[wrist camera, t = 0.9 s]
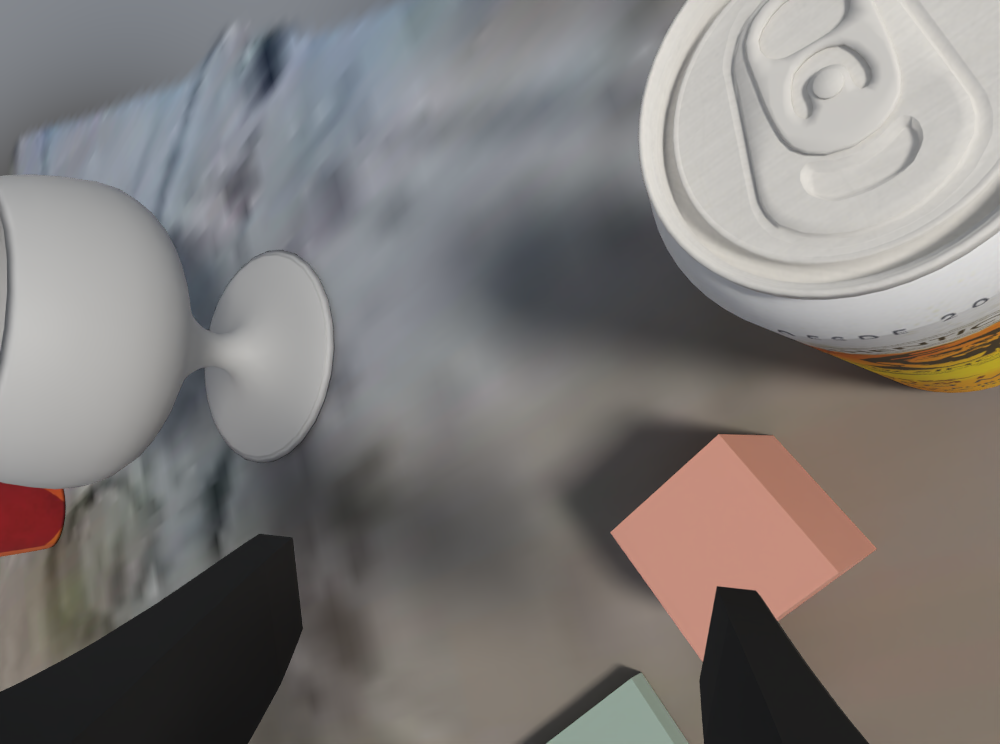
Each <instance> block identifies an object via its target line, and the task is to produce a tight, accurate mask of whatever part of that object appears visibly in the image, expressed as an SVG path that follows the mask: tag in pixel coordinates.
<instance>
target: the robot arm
mask: <svg viewBox="0 0 1000 744" xmlns="http://www.w3.org/2000/svg"><path fill="white" fill-rule="evenodd" d="M302 630H303V626H302V617H301V609H300V600H299V591H298V582H297V573H296V564H295V555H294V546H293V538H291V537H282V536H273V535H264V534H259V535H257V536H256V537H254V538H252V539H251V540H249V541H248V542H246V543H245V544H243V545H242V546H240V547H239V548H237V549H236V550H234V551H233V552H231V553H230V554H229V555H227V556H226V557H224V558H223V559H221V560H220V561H218V562H217V563H216V564H214V565H213V566H211V567H210V568H208V569H207V570H205V571H204V572H203V573H201V574H200V575H198V576H197V577H195V578H194V579H192V580H191V581H189V582H188V583H186V584H185V585H183V586H182V587H180V588H179V589H178V590H176V591H175V592H173V593H172V594H170V595H169V596H167V597H166V598H164V599H163V600H161V601H160V602H158V603H157V604H155V605H154V606H152V607H151V608H149V609H147V610H146V611H144V612H142V613H141V614H139V615H138V616H136V617H134V618H133V619H131V620H130V621H128V622H126V623H125V624H123V625H122V626H120V627H118V628H117V629H115V630H114V631H112V632H110V633H109V634H107V635H106V636H104V637H102V638H101V639H99V640H98V641H96V642H94V643H92V644H91V645H89V646H87V647H85V648H84V649H82V650H80V651H78V652H77V653H75V654H73V655H71V656H69V657H68V658H66V659H64V660H62V661H60V662H58V663H57V664H55V665H53V666H51V667H49V668H47V669H45V670H43V671H41V672H39V673H38V674H36V675H34V676H32V677H30V678H28V679H26V680H24V681H22V682H20V683H18V684H16V685H14V686H12V687H10V688H8V689H5V690H3V691H1V692H0V744H248V743H249V741H250V739H251V737H252V735H253V734H254V732H255V730H256V728H257V726H258V725H259V723H260V721H261V719H262V717H263V716H264V714H265V712H266V710H267V708H268V706H269V705H270V703H271V701H272V699H273V697H274V695H275V694H276V692H277V690H278V688H279V686H280V684H281V682H282V680H283V677H284V675H285V672H286V670H287V668H288V665H289V663H290V660H291V658H292V655H293V653H294V650H295V648H296V645H297V643H298V640H299V637H300V635H301V632H302ZM700 694H701V709H702V723H703V735H704V744H869V743H868V742H867V741H866V739H865V738H864V737H863V736H862V735H861V733H860V732H859V731H858V730H857V729H856V727H855V726H854V725H853V724H852V722H851V721H850V720H849V719H848V717H847V716H846V715H845V714H844V712H843V711H842V710H841V709H840V707H839V706H838V705H837V703H836V702H835V701H834V699H833V698H832V697H831V695H830V694H829V693H828V691H827V690H826V689H825V687H824V686H823V685H822V683H821V682H820V681H819V679H818V678H817V677H816V676H815V674H814V673H813V671H812V670H811V669H810V667H809V666H808V665H807V663H806V662H805V660H804V659H803V658H802V656H801V655H800V653H799V652H798V650H797V649H796V648H795V646H794V645H793V643H792V642H791V640H790V639H789V638H788V636H787V635H786V633H785V632H784V630H783V629H782V627H781V626H780V624H779V623H778V621H777V620H776V618H775V617H774V615H773V614H772V612H771V611H770V609H769V608H768V606H767V605H766V603H765V602H764V600H763V599H762V597H761V596H760V595H759V594H758V592H757V591H756V590H747V589H738V588H730V587H721V586H717V588H716V594H715V599H714V605H713V610H712V615H711V621H710V626H709V632H708V637H707V643H706V648H705V654H704V659H703V665H702V670H701V676H700Z"/></svg>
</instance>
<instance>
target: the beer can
mask: <svg viewBox="0 0 1000 744" xmlns="http://www.w3.org/2000/svg"><path fill="white" fill-rule="evenodd" d="M638 148H639V161H640V166H641V171H642V177H643V181H644V184H645V187H646V190H647V193H648V196H649V199H650V203H651V208H652V213H653V216H654V219H655V222H656V225H657V228H658V231H659V233H660V235H661V237H662V239H663V242H664V244H665V246H666V248H667V250H668V251H669V253H670V255H671V256H672V258H673V259H674V261H675V262H676V264H677V266H678V267H679V268H680V269H681V270H682V272H683V273H684V274H685V275H686V276H687V278H688V279H689V280H690V281H691V282H692V283H693V284H694V285H695V286H696V287H697V288H698V289H699V290H700V291H701V292H702V293H704V294H705V295H706V296H707V297H708V298H710V299H711V300H712V301H714V302H715V303H717V304H718V305H719V306H721V307H722V308H724V309H725V310H727V311H729V312H731V313H733V314H735V315H736V316H738V317H740V318H742V319H744V320H746V321H749V322H751V323H754V324H756V325H758V326H761V327H763V328H766V329H768V330H771V331H773V332H776V333H778V334H781V335H783V336H786V337H788V338H791V339H793V340H796V341H798V342H800V343H803V344H805V345H808V346H810V347H813V348H815V349H818V350H820V351H823V352H825V353H828V354H830V355H833V356H835V357H837V358H840V359H842V360H845V361H847V362H850V363H852V364H855V365H857V366H860V367H862V368H865V369H867V370H870V371H872V372H875V373H877V374H879V375H882V376H884V377H887V378H889V379H892V380H894V381H897V382H899V383H902V384H904V385H907V386H910V387H914V388H918V389H922V390H928V391H934V392H947V393H956V392H970V391H978V390H983V389H987V388H992V387H996V386H999V385H1000V0H686V2H685V3H684V5H683V6H682V8H681V9H680V11H679V12H678V14H677V15H676V17H675V18H674V20H673V22H672V24H671V25H670V27H669V29H668V31H667V32H666V34H665V36H664V38H663V40H662V42H661V44H660V47H659V49H658V51H657V53H656V55H655V58H654V60H653V63H652V66H651V69H650V72H649V75H648V77H647V81H646V85H645V89H644V93H643V97H642V102H641V109H640V116H639V128H638Z"/></svg>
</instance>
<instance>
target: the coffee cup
mask: <svg viewBox="0 0 1000 744" xmlns="http://www.w3.org/2000/svg"><path fill="white" fill-rule="evenodd" d="M64 519H65V496H64V491H63V489H47V488H34V487H26V486H20V485H13V484H7V483H2V482H0V557H1V556H7V555H13V554H20V553H25V552H31V551H37V550H42V549H47V548H50V547H53V546H54V545H55V544H56V543H57V541H58V539H59V538H60V535H61V532H62V529H63V525H64Z"/></svg>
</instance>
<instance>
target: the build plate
mask: <svg viewBox="0 0 1000 744" xmlns="http://www.w3.org/2000/svg"><path fill="white" fill-rule="evenodd" d="M546 744H689V743H688V742H687V740H686V739H685V737H684V736H683V734H682V733H681V731H680V730H679V728H678V727H677V725H676V724H675V722H674V721H673V719H672V718H671V716H670V715H669V713H668V712H667V710H666V709H665V707H664V706H663V704H662V703H661V701H660V700H659V698H658V697H657V695H656V694H655V692H654V691H653V689H652V688H651V686H650V685H649V683H648V682H647V680H646V679H645V677H644V675H643V674H642V672H641V673H639V674H638V675H636V676H634V677H632V678H631V679H629V680H628V681H627V682H625V683H624V684H623V685H622V686H620V687H619V688H618V689H616V690H615V691H614V692H612V693H611V694H610V695H609V696H607V697H606V698H605V699H603V700H602V701H601V702H599V703H598V704H597V705H596V706H594V707H593V708H592V709H590V710H589V711H588V712H587V713H585V714H584V715H583V716H581V717H580V718H579V719H577V720H576V721H575V722H574V723H572V724H571V725H570V726H568V727H567V728H566V729H564V730H563V731H562V732H561V733H559V734H558V735H557V736H555V737H554V738H553V739H551V740H550V741H549V742H548V743H546Z"/></svg>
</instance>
